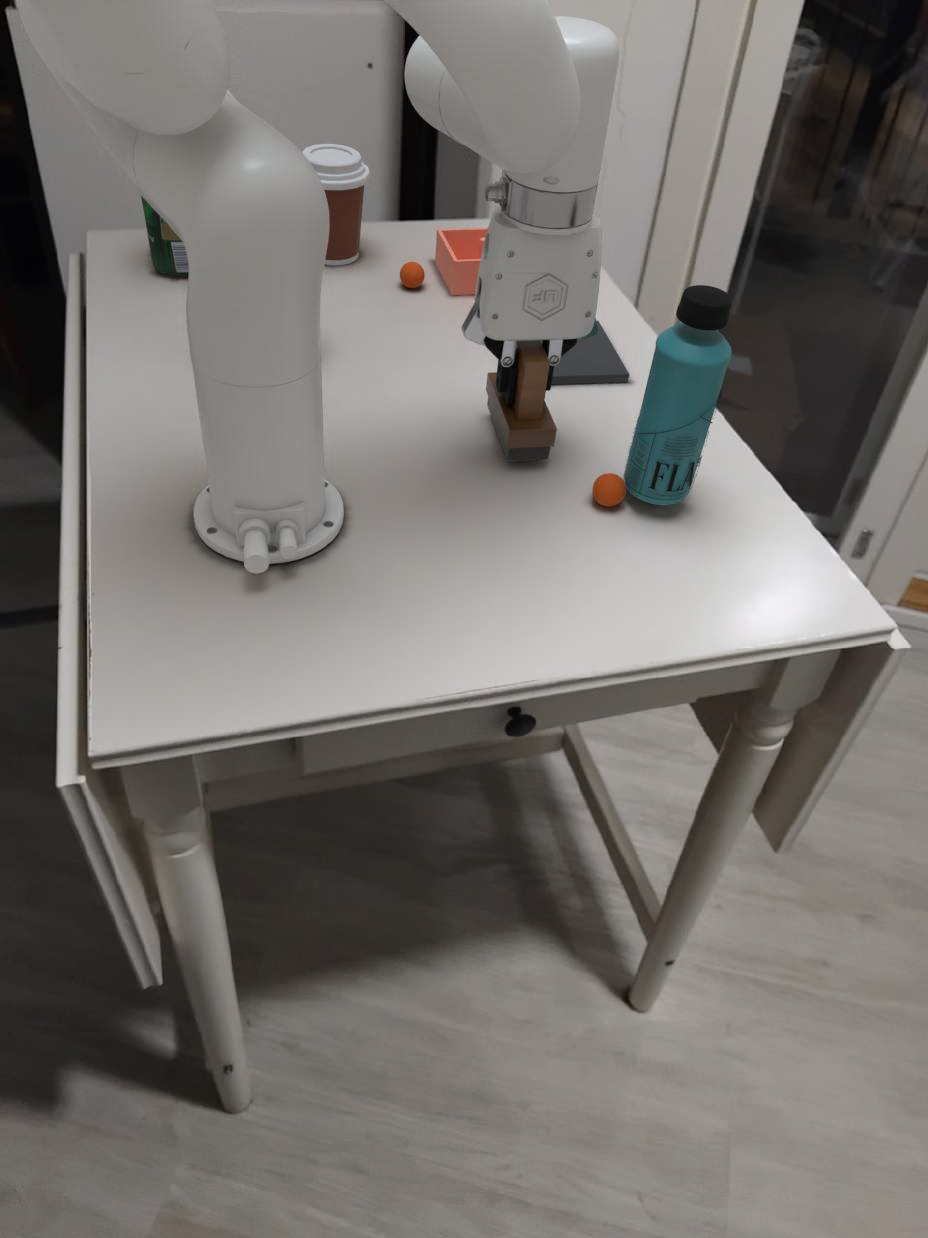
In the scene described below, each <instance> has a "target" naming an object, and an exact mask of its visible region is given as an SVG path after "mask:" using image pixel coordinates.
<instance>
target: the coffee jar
mask: <svg viewBox="0 0 928 1238" xmlns="http://www.w3.org/2000/svg"><path fill="white" fill-rule="evenodd" d="M140 198H141V203H142V210H143V215H144V222H145V227H146V233H147V240H148V247H149V252H150V257H151V262H152V265H153V267H154V268H155V269H156V270H157V272H159V273H162V274H167V275H172V276H175V277H181V278H182V277H189V266H188V258H187V254H186V250H185V247H184V244H183V242H182V240H181V239H180V238H179V236H178V235H177V234H176V233H175V232H174V231H173V230H172V229H171V228H170V226H169V225H168V224H167V222H166V221H165V220H164V219H163V218H162V217H161V216H160V215H159V214H158V213H157V212H156V211H155V210H154V209H153V208H152V207H151V206H150V205H149V204H148V203H147V201H146V200H145V199H144V198H143V197H142V196H141V195H140Z"/></svg>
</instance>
